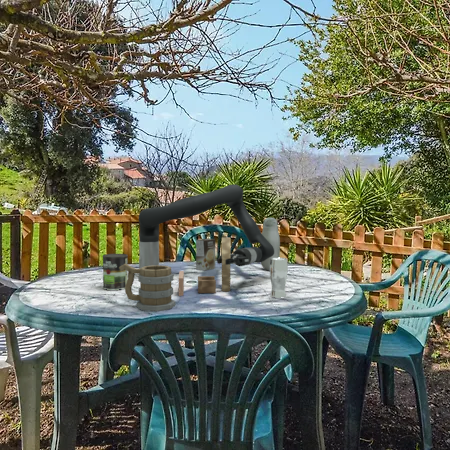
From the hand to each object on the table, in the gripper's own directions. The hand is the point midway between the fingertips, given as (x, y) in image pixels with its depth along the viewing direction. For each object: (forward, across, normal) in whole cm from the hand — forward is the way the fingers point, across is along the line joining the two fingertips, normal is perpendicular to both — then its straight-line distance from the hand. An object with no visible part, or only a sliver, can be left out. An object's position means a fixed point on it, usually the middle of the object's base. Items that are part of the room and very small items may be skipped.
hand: (222, 261), depth 172 cm
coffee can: (+21, -41, +13) cm, 48 cm away
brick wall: (+9, -14, +12) cm, 21 cm away
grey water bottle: (-57, -9, +13) cm, 59 cm away
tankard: (+34, -9, +13) cm, 37 cm away
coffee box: (-39, -38, +13) cm, 56 cm away
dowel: (-3, 0, +12) cm, 13 cm away
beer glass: (-6, +23, +13) cm, 27 cm away
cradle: (+2, -6, +12) cm, 14 cm away
